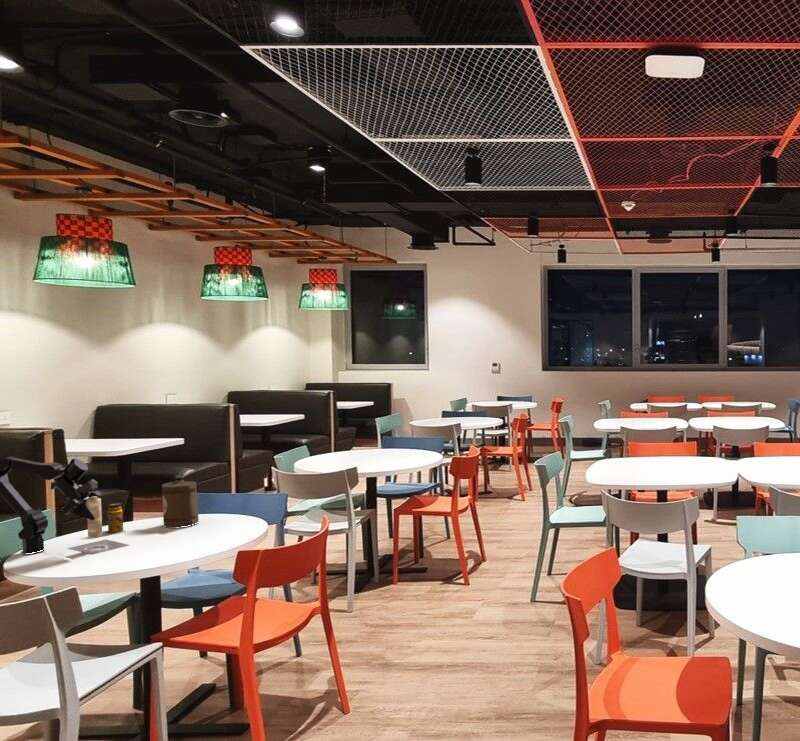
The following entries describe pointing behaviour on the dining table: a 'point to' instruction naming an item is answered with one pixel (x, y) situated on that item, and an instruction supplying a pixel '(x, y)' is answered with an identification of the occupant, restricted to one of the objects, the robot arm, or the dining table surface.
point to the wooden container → (180, 503)
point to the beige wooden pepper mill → (95, 524)
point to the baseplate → (98, 546)
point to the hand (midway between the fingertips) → (97, 517)
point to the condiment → (114, 519)
